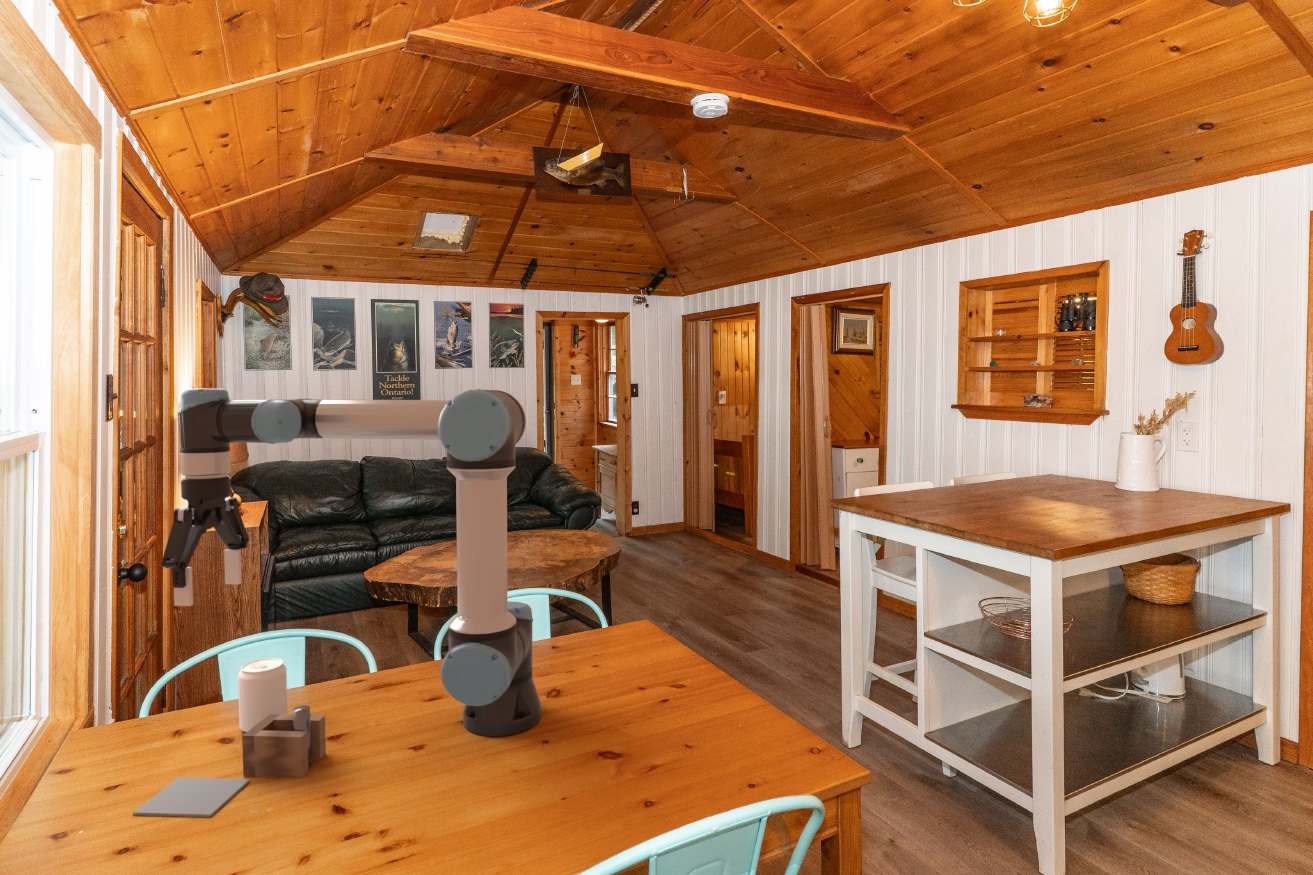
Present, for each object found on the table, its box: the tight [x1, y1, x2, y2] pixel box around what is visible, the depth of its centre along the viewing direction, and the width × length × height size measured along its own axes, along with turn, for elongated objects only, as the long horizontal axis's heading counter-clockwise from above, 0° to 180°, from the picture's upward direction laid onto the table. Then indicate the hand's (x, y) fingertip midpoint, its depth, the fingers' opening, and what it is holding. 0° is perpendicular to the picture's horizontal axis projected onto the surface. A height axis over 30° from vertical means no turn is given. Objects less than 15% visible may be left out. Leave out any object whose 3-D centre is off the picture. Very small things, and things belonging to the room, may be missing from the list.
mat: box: [132, 776, 251, 818], centre depth 114 cm, size 12×10×1 cm
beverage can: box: [237, 657, 288, 733], centre depth 138 cm, size 8×8×12 cm
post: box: [292, 704, 312, 768], centre depth 124 cm, size 3×3×10 cm
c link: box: [241, 714, 327, 779], centre depth 124 cm, size 10×8×7 cm
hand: (209, 594), depth 129 cm, fingers open, 13 cm apart
